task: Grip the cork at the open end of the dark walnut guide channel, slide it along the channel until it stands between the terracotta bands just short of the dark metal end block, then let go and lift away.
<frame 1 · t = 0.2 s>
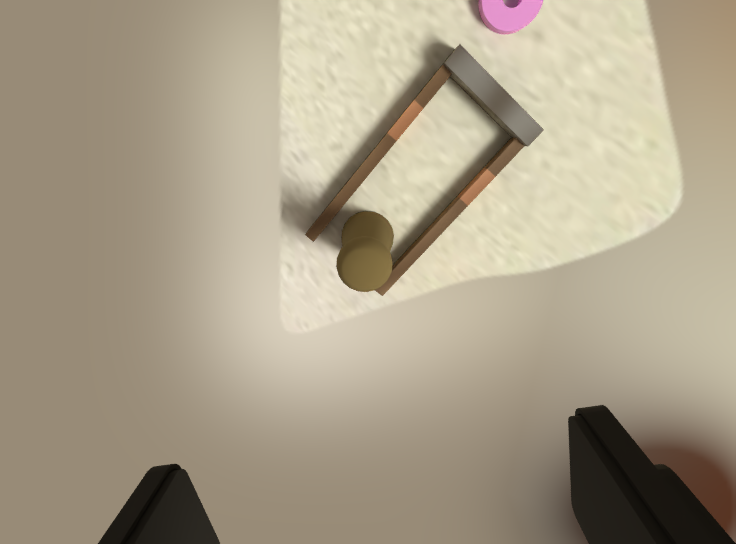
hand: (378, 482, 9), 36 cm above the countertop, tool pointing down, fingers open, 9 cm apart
guide channel: (402, 197, 43), on the countertop
cork: (367, 236, 45), on the countertop
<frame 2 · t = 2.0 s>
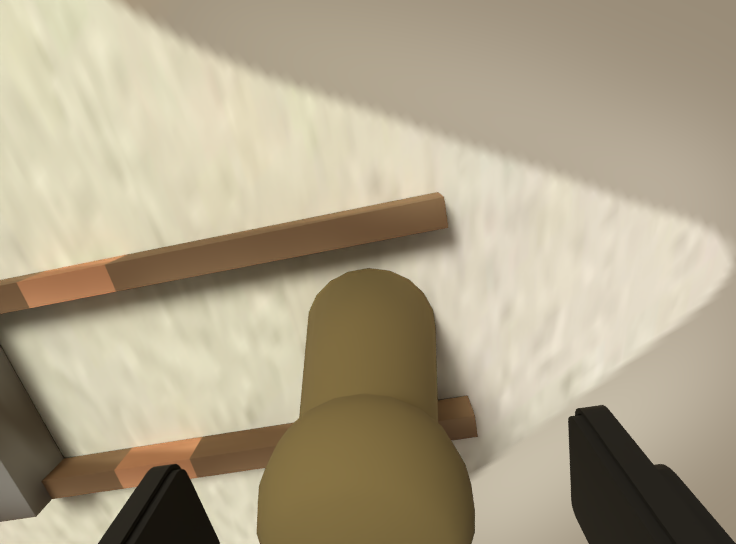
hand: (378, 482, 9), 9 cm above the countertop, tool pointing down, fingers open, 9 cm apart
guide channel: (249, 350, 19), on the countertop
cork: (371, 327, 19), on the countertop
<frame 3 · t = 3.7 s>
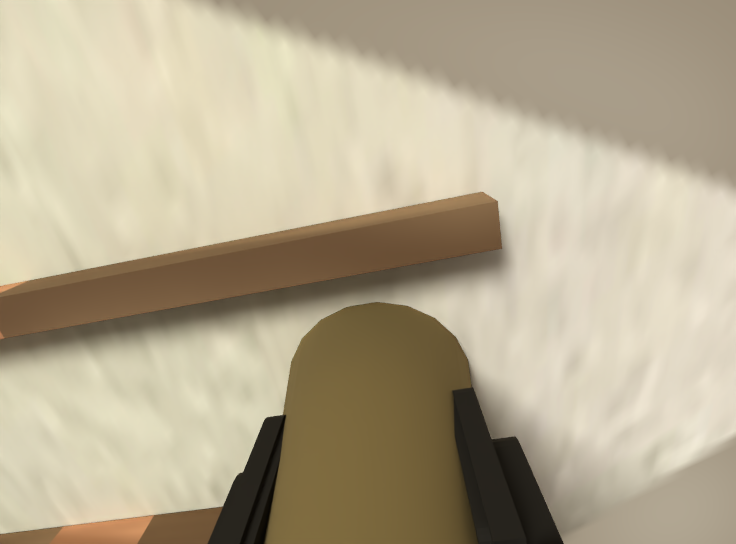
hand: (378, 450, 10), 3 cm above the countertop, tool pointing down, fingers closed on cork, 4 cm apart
guide channel: (210, 410, 14), on the countertop
cork: (379, 381, 13), on the countertop, touching gripper
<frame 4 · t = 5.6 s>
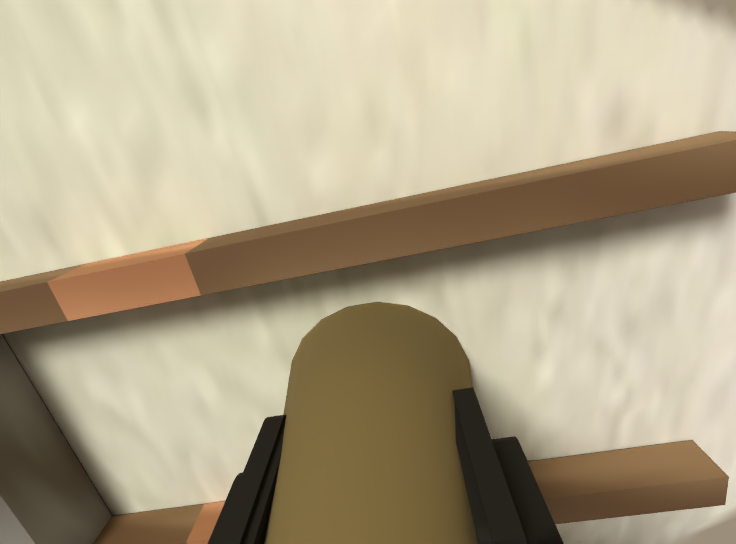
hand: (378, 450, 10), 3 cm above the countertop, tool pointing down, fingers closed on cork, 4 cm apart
guide channel: (380, 377, 13), on the countertop
cork: (380, 380, 13), on the countertop, touching gripper
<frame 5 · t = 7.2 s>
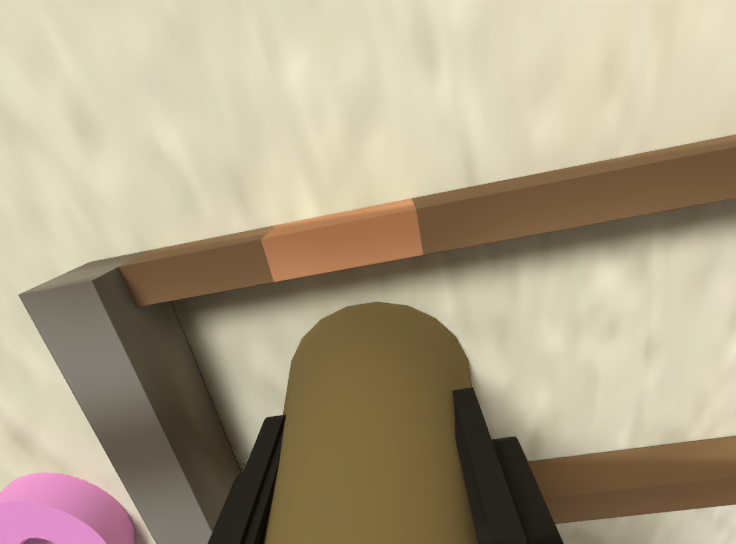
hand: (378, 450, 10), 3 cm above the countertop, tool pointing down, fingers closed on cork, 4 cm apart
guide channel: (564, 349, 12), on the countertop
cork: (379, 380, 13), on the countertop, touching gripper
when the fingers open (3 cm above the countertop, at t = 7.8 s): cork stays where it is, on the countertop.
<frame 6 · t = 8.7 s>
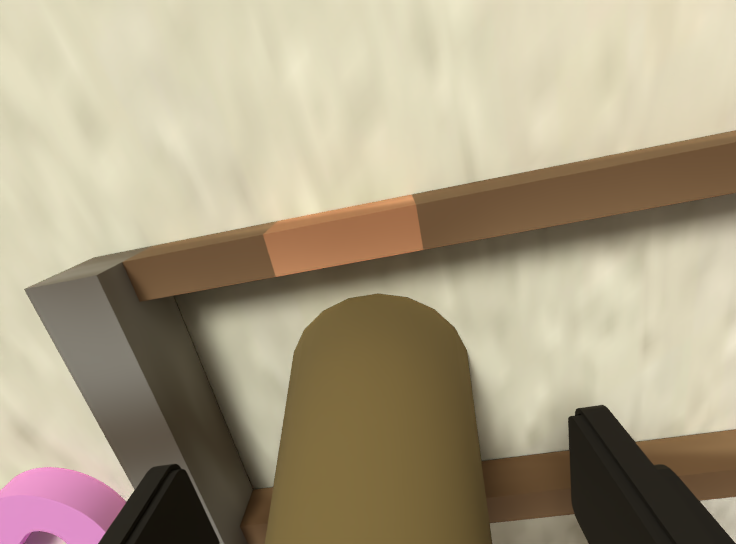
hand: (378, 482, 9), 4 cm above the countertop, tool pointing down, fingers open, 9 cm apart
guide channel: (562, 344, 13), on the countertop
cork: (380, 371, 13), on the countertop
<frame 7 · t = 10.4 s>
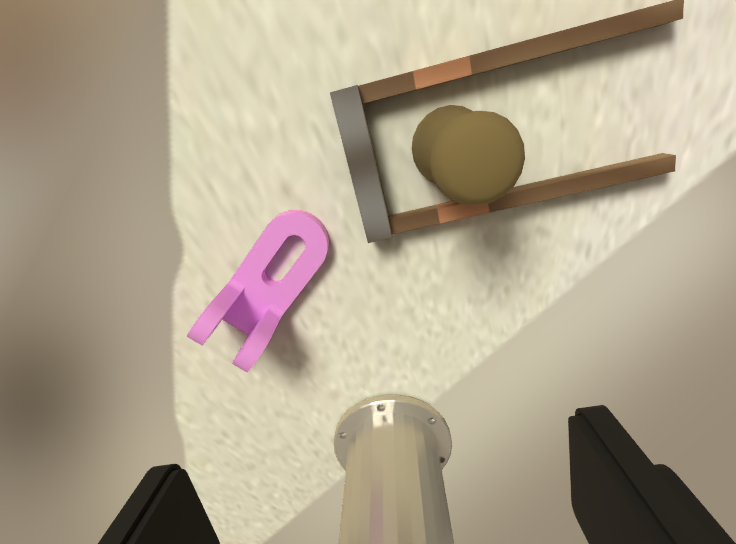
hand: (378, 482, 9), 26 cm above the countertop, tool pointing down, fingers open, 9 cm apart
bracket: (276, 270, 36), on the countertop
guide channel: (527, 125, 30), on the countertop
cork: (449, 146, 31), on the countertop
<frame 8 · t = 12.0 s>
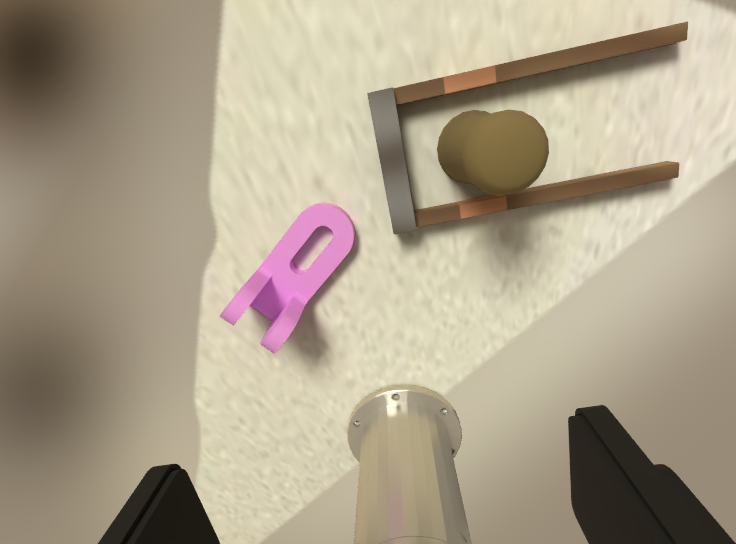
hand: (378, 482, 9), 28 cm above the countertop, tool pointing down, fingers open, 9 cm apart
bracket: (302, 260, 38), on the countertop
guide channel: (544, 131, 33), on the countertop
cork: (471, 147, 34), on the countertop
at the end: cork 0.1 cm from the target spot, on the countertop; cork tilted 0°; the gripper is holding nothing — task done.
